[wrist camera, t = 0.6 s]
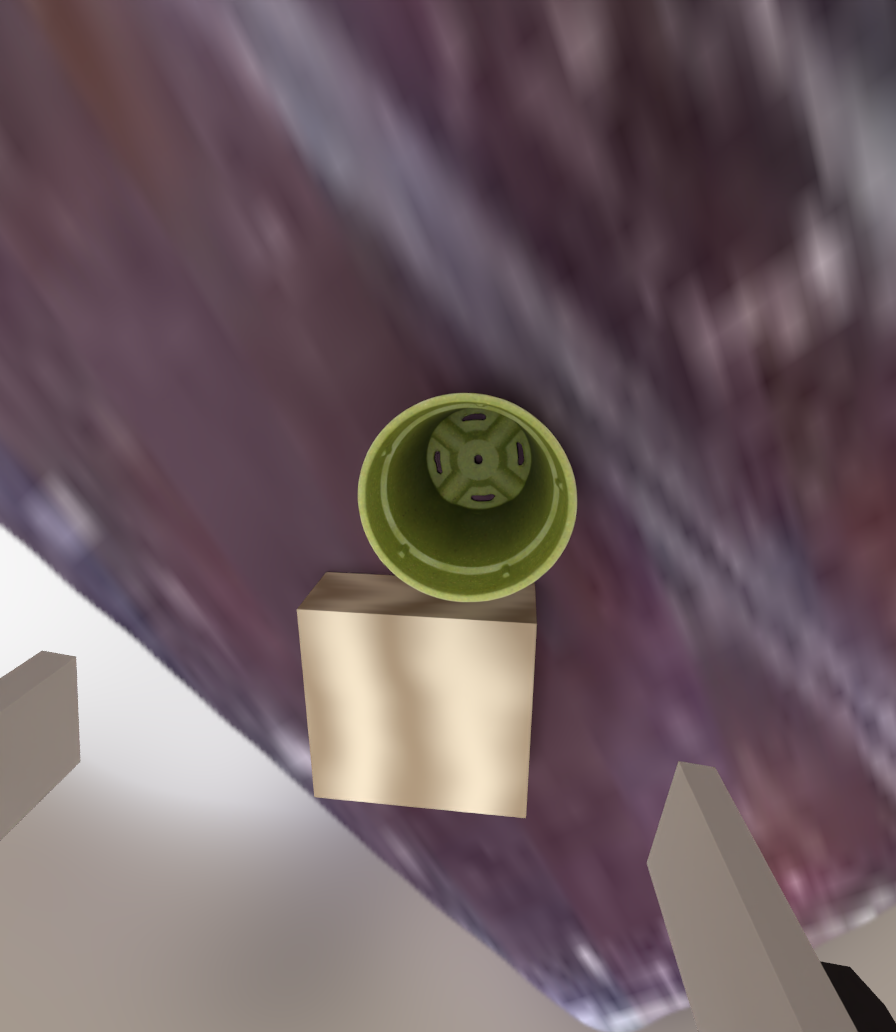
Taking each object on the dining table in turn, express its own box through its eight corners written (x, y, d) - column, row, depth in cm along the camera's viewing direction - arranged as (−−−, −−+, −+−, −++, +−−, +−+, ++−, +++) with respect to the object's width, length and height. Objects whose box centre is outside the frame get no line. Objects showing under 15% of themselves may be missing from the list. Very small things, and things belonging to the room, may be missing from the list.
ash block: (534, 582, 35) (536, 623, 30) (525, 757, 39) (525, 818, 34) (326, 571, 36) (297, 609, 31) (338, 741, 40) (314, 796, 35)
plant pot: (571, 527, 33) (587, 593, 25) (413, 544, 35) (380, 612, 27) (554, 362, 30) (565, 376, 22) (383, 389, 32) (336, 411, 24)
